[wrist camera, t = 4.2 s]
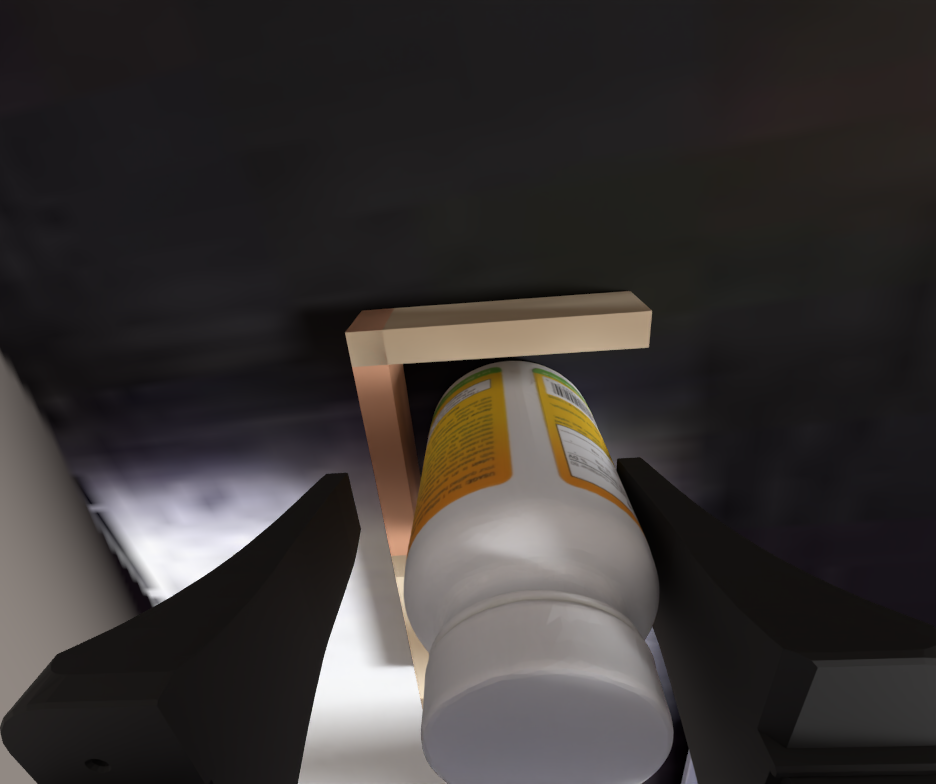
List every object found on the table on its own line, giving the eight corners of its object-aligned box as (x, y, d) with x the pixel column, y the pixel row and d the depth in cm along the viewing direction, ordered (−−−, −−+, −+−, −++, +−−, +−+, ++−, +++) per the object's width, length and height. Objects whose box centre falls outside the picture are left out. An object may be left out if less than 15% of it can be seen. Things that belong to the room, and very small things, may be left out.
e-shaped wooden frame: (603, 662, 21) (614, 707, 20) (428, 667, 22) (423, 713, 20) (629, 290, 14) (651, 311, 12) (362, 310, 14) (345, 332, 13)
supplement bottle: (431, 490, 17) (382, 827, 9) (430, 353, 15) (361, 628, 6) (579, 495, 17) (679, 840, 9) (602, 359, 15) (773, 643, 6)
